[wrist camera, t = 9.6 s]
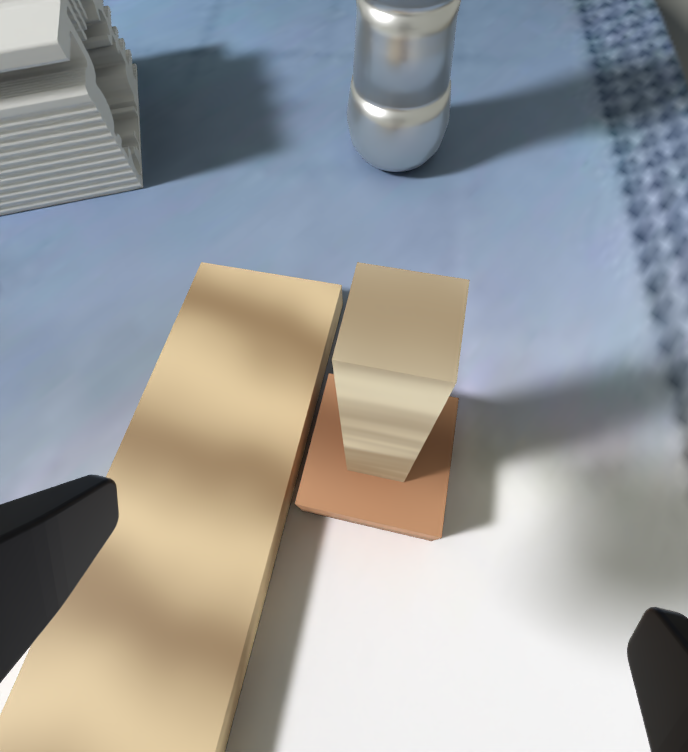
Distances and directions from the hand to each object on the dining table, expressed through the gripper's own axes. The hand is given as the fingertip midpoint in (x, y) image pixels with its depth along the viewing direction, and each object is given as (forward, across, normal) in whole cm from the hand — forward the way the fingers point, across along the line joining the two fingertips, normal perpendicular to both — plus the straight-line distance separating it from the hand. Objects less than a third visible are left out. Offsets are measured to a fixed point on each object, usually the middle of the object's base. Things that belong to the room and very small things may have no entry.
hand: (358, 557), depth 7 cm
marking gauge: (+12, 0, +6) cm, 13 cm away
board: (+10, +8, +8) cm, 15 cm away
